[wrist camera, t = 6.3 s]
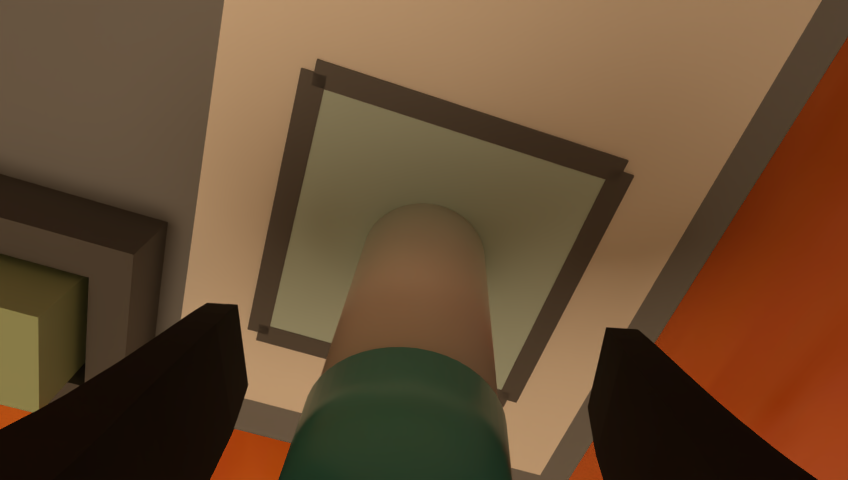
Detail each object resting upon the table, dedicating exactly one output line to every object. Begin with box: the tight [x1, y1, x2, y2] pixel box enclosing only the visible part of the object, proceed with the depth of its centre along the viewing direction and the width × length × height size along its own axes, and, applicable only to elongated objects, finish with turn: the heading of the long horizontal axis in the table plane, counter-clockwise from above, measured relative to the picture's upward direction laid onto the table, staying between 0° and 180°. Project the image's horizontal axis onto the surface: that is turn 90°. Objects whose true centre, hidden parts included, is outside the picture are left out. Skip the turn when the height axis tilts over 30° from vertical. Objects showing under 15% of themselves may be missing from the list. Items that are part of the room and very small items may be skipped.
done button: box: [0, 253, 89, 412], centre depth 14 cm, size 3×3×2 cm
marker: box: [279, 203, 512, 480], centre depth 11 cm, size 3×3×8 cm
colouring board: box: [0, 0, 848, 480], centre depth 14 cm, size 20×18×3 cm
